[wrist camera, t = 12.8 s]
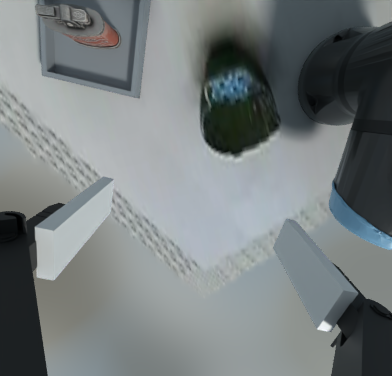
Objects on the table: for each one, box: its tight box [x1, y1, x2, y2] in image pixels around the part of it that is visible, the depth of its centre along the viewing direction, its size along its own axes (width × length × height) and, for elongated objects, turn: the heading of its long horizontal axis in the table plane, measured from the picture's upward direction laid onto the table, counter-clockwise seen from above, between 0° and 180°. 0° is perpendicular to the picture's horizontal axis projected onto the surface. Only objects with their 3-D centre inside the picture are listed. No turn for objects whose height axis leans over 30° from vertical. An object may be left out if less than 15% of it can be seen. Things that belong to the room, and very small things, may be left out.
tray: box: [39, 0, 151, 98], centre depth 34 cm, size 16×16×3 cm
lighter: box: [35, 3, 122, 50], centre depth 30 cm, size 8×3×10 cm, turn 84°
